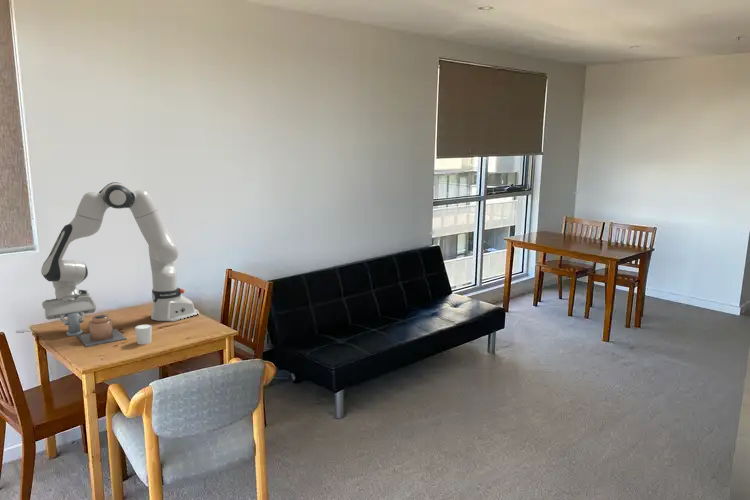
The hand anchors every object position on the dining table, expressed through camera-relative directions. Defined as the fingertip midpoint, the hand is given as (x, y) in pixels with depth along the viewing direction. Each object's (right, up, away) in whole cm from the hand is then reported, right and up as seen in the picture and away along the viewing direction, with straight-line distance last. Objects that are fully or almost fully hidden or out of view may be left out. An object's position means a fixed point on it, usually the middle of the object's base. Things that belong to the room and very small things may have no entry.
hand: (74, 323), depth 251 cm
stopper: (0, -5, +1) cm, 5 cm away
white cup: (+34, -7, -8) cm, 36 cm away
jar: (+14, -6, -4) cm, 16 cm away
